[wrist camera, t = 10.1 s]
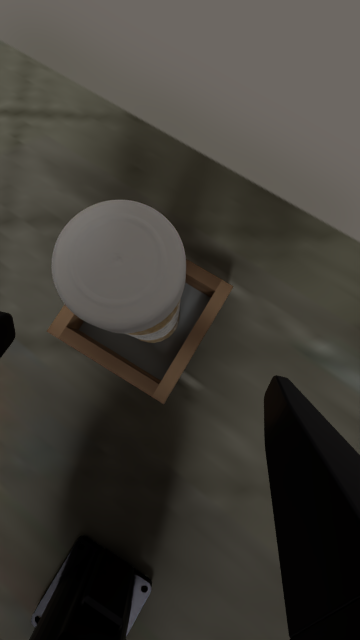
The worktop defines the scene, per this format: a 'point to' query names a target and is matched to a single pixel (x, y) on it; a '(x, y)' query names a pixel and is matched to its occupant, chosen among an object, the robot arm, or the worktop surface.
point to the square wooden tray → (150, 358)
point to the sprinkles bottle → (122, 269)
